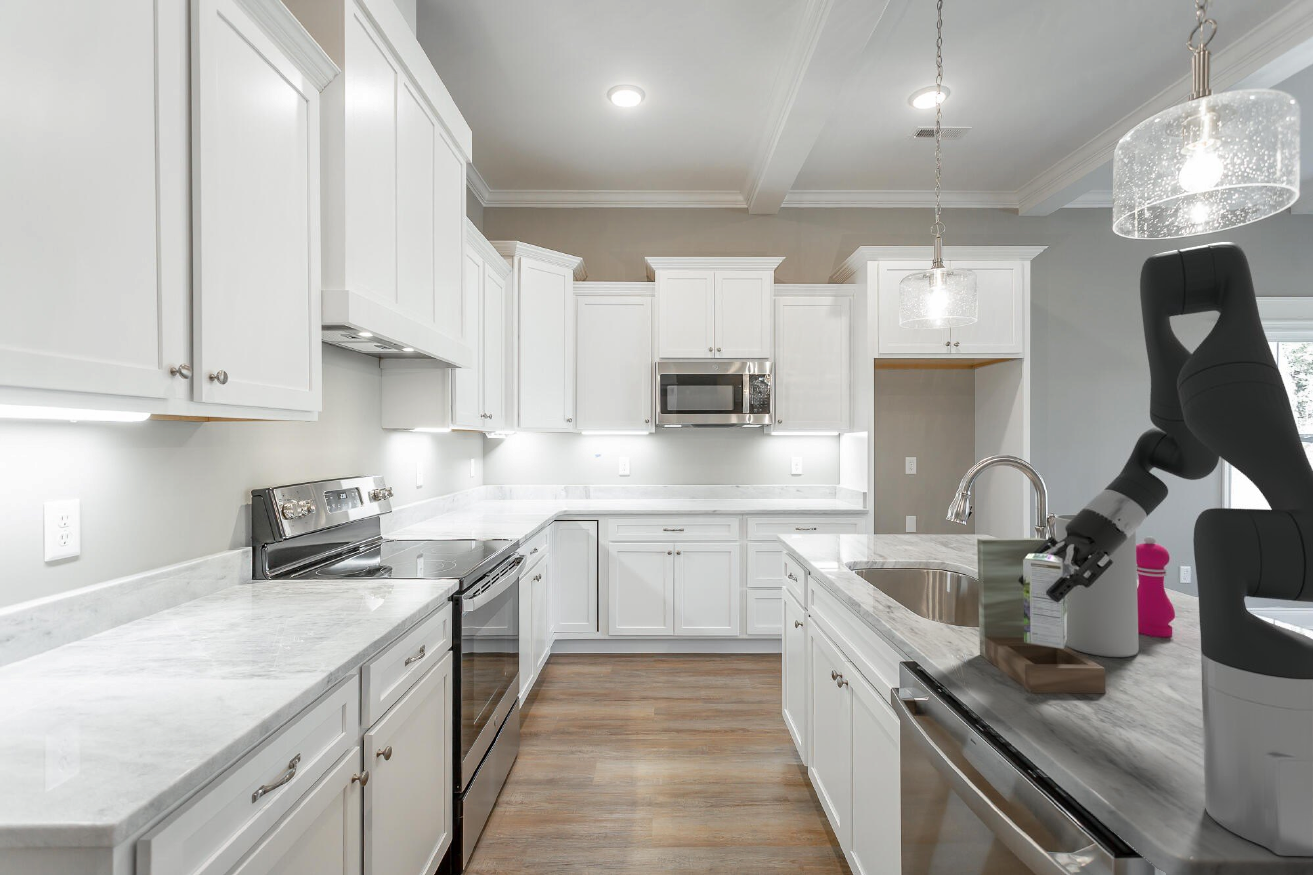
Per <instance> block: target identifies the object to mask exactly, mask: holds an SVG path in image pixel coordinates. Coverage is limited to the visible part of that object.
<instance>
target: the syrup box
mask: <svg viewBox="0 0 1313 875" xmlns="http://www.w3.org/2000/svg"><path fill="white" fill-rule="evenodd" d="M1064 562H1065V561H1063V559H1062V558H1060V557H1058V556H1055V555H1048V554H1028V555H1027V556H1026V557H1025V559H1024V560H1023V599H1024V642H1025V643H1030V644H1036V645H1041V646H1048V647H1055V648H1061V649H1064V648H1065V644H1066V641H1067V595H1065V597H1064V598H1063V599H1061V600H1060V601H1059V602H1055V601H1053V600H1052V599H1051V598H1050V597H1048V596H1047V595H1046V591H1047V590H1048V589H1049V588H1050V587H1051V586H1052V585H1053V584H1054V583H1055V582H1056V581H1057V580H1058V579H1059V578H1060V577H1062V578H1064V577H1063V575H1064V571H1065V566H1064Z"/></svg>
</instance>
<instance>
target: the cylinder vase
mask: <svg viewBox="0 0 1313 875" xmlns="http://www.w3.org/2000/svg"><path fill="white" fill-rule="evenodd" d="M1077 514H1078V513H1077ZM1077 514H1072V513H1071V514H1058V515H1057V514H1056V515H1055V516H1054V526H1055V527H1054V533H1055V534H1054V539H1056V540H1057V541H1061V540H1063V539H1064V538H1066V537H1067V532H1066V530H1065V527H1066V525H1067V524H1068V523H1069V522H1070V521H1071V520H1072V519H1073V518H1074V517H1075V516H1076V515H1077ZM1136 531H1137V530H1136ZM1136 531H1135V532H1134V533H1133V534H1132V535H1131V536H1130V537H1129V538H1128V539H1127V540H1126V541H1125V542H1124V543H1123V544H1122V545H1121V546H1120V547H1119V548H1118V549H1117V550H1116V551H1115V552H1114V553H1113V554H1112V555H1111V556H1109V558H1110V559H1111V560H1112V561H1113V563H1112V565H1111V566H1110V567H1109V568H1108V569H1107V570H1106V571H1105V572H1104V573H1103V574H1102V575H1101V576H1100V577H1099V578H1098V579H1097V580H1096V581H1095V582H1094V583H1093V584H1092V585H1091V586H1090V587H1088V588H1085V587H1084V586H1083V585H1081V586H1079V587H1077V588H1076V587H1074V588H1073V589H1072V590H1071V591H1070V592H1069V593H1068V594H1067V641H1066V644H1065V646H1066V647H1068V648H1070V649H1071V650H1073V651H1076V652H1080V653H1084V654H1089V655H1092V656H1099V657H1106V658H1127V657H1132V656H1135V655H1136V654H1138V652H1139V649H1140V647H1139V646H1140V645H1139V633H1138V604H1137V588H1138V578H1137V577H1138V573H1137V563H1136V546H1137V538H1136V537H1137V535H1136V534H1137V532H1136ZM1090 575H1091V572H1090V571H1089V570H1088V573H1087V577H1086V578H1088V577H1089V576H1090Z"/></svg>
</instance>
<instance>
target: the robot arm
mask: <svg viewBox="0 0 1313 875" xmlns="http://www.w3.org/2000/svg"><path fill="white" fill-rule="evenodd" d="M1254 287H1255V286H1254V282H1253V277H1252V273H1251V269H1250V265H1249V262H1248V259H1247V256H1246V253H1245V251H1244V250H1243V249H1242V247H1241V246H1240V245H1238V244H1237V243H1235V242H1232V241H1231V242H1230V241H1227V242H1226V241H1225V242H1224V241H1223V242H1214V243H1209V244H1205V245H1204V244H1203V245H1198V246H1191V247H1187V248H1182V249H1176V250H1169V251H1165V252H1160V253H1156V254H1153V255H1151V256H1149V257H1148V258H1146V260H1145V261H1144V263H1143V265H1142V267H1141V271H1140V279H1139V291H1140V293H1139V294H1140V295H1139V297H1140V306H1141V307H1140V308H1141V316H1142V324H1143V325H1142V326H1143V334H1144V338H1145V339H1144V340H1145V341H1144V342H1145V347H1146V348H1145V349H1146V354H1147V360H1148V365H1149V366H1148V367H1149V375H1150V397H1149V400H1150V401H1149V402H1150V403H1149V418H1150V422H1151V423H1152V424H1153V425H1154V427H1152V428H1149V429H1148V430H1147V431H1144V432H1143V433H1142V434H1141V435H1140V436H1139V438H1138V440H1137V441H1136V443H1135V445H1134V447H1133V449H1132V452H1131V454H1130V456H1129V458H1128V460H1127V461H1126V463H1125V465H1124V466H1123V468H1122V470H1121V472H1120V473H1119V474H1118V475H1117V476H1116V477H1115V478H1114V479H1113V481H1111V482H1110V483H1109V484H1108V485H1107V487H1105V488H1104V490H1102V491H1101V492H1100V493H1098V494H1097V495H1096V496H1095V497H1093V498H1092V499H1091V500H1090V501H1089V502H1088V503H1087V504H1086V505H1085V506H1084V507H1083V508H1081V510H1080V511H1079V512H1078V513H1077V515H1076V516H1075V517H1074V518H1073V519H1072V520H1071V521H1070V522H1069V523H1068V524H1067V525H1066V527H1065V530H1066V532H1067V537H1066V538H1064V539H1063V540H1061V541H1057V540H1056V539H1055V537H1053V536H1049V537H1048V538H1047V539H1045V540H1046V541H1045V542H1044V543H1043V544H1042V545H1041V546H1040V547H1039V548H1038V549H1037V550H1036V551H1035V552H1034V553H1033V554H1048V555H1055V556H1058V557H1060V558H1062V559H1063V561H1065V562H1064V566H1065V571H1064V575H1063V577H1064V578H1062V577H1060V578H1059V579H1058V580H1057V581H1056V582H1055V583H1054V584H1053V585H1052V586H1051V587H1050V588H1049V589H1048V590H1047V591H1046V595H1047V596H1048V597H1050V598H1051V599H1052V600H1053V601H1055V602H1059V601H1060V600H1061V599H1063V598H1064V597H1065V595H1067V594H1068V593H1069V592H1070V591H1071V590H1072V589H1073V588H1074V587H1076V588H1077V587H1079V586H1081V585H1083V586H1084V587H1085V588H1088V587H1090V586H1091V585H1092V584H1093V583H1094V582H1095V581H1096V580H1097V579H1098V578H1099V577H1100V576H1101V575H1102V574H1103V573H1104V572H1105V571H1106V570H1107V569H1108V568H1109V567H1110V566H1111V565H1112V563H1113V561H1112V560H1111V559H1110V558H1109V556H1111V555H1112V554H1113V553H1114V552H1115V551H1116V550H1117V549H1118V548H1119V547H1120V546H1121V545H1122V544H1123V543H1124V542H1125V541H1126V540H1127V539H1128V538H1129V537H1130V536H1131V535H1132V534H1133V533H1134V532H1135V531H1137V530H1138V529H1139V527H1140V526H1142V524H1143V522H1144V521H1145V520H1146V518H1147V517H1149V516H1150V514H1151V513H1152V512H1154V511H1155V509H1156V508H1157V507H1159V506H1160V505H1161V504H1162V502H1164V500H1165V499H1166V498H1167V497H1168V495H1169V488H1168V485H1166V484H1165V482H1163V481H1162V479H1160V478H1159V477H1157V476H1156V475H1155V474H1153V473H1151V470H1152V469H1154V468H1156V469H1157V470H1160V471H1163V472H1165V473H1168V474H1171V475H1174V476H1176V477H1179V478H1182V479H1184V480H1188V481H1189V480H1190V481H1196V480H1201V479H1203V478H1206V477H1208V476H1209V475H1210V474H1212V473H1213V472H1214V470H1215V469H1216V468H1217V466H1218V464H1219V461H1220V458H1221V459H1222V460H1224V461H1225V462H1226V463H1228V464H1230V465H1231V466H1232V467H1233V468H1235V469H1236V470H1237V471H1239V472H1240V473H1241V474H1243V475H1244V476H1245V477H1246V478H1248V479H1249V480H1250V482H1252V484H1253V485H1254V486H1255V487H1256V488H1257V489H1258V490H1259V491H1260V493H1261V494H1262V497H1264V499H1265V501H1266V502H1267V504H1268V505H1269V507H1270V509H1262V508H1261V509H1260V508H1257V509H1256V508H1228V507H1227V508H1226V507H1225V508H1223V507H1218V508H1217V507H1214V508H1208V509H1204V510H1202V512H1201V513H1200V514H1199V515H1198V516H1197V519H1196V520H1195V524H1194V528H1193V540H1192V541H1193V553H1194V554H1193V555H1194V564H1195V565H1194V566H1195V574H1196V584H1197V593H1198V594H1197V595H1198V596H1197V597H1198V611H1199V612H1198V613H1199V628H1200V630H1199V631H1200V662H1201V663H1200V664H1201V700H1202V701H1201V703H1202V704H1201V705H1202V709H1201V710H1202V741H1203V742H1202V745H1203V747H1202V748H1203V749H1202V750H1203V772H1204V773H1203V774H1204V775H1203V777H1204V778H1203V780H1204V806H1205V807H1204V808H1205V811H1206V812H1207V813H1208V815H1209V816H1210V817H1211V819H1213V820H1214V821H1215V822H1216V823H1218V825H1220V826H1222V827H1223V828H1224V829H1226V830H1228V831H1229V832H1232V833H1233V834H1235V835H1237V836H1239V837H1242V838H1243V839H1246V840H1248V841H1250V842H1253V843H1256V845H1260V846H1262V847H1265V848H1267V850H1270V851H1271V852H1273V853H1274V854H1276V855H1278V856H1289V857H1291V856H1293V857H1295V856H1296V857H1313V638H1311V637H1310V636H1307V635H1305V634H1302V633H1301V632H1298V631H1294V630H1293V629H1289V628H1285V627H1283V626H1281V625H1277V624H1274V623H1272V622H1270V621H1267V620H1264V619H1262V618H1260V617H1259V616H1256V615H1255V614H1254V613H1251V612H1250V611H1249V610H1248V609H1247V606H1246V603H1245V598H1246V597H1249V598H1256V599H1257V598H1259V599H1269V600H1282V601H1292V602H1303V603H1304V602H1305V603H1306V602H1307V603H1313V467H1312V465H1311V463H1310V461H1309V459H1308V457H1307V454H1306V451H1305V448H1304V445H1303V442H1302V440H1301V437H1300V433H1299V430H1298V426H1297V423H1296V420H1295V416H1294V414H1293V413H1294V412H1293V409H1292V406H1291V405H1292V404H1291V402H1290V398H1289V395H1288V391H1287V390H1286V389H1287V388H1286V386H1285V383H1284V380H1283V377H1282V374H1281V372H1280V370H1279V367H1278V364H1277V362H1276V360H1275V357H1274V355H1273V353H1272V349H1271V347H1270V344H1269V341H1268V339H1267V336H1266V333H1265V330H1264V327H1263V324H1262V320H1261V317H1260V312H1259V308H1258V303H1257V302H1258V301H1257V297H1256V293H1255V289H1254ZM1214 311H1215V312H1218V313H1219V316H1218V319H1217V320H1216V322H1215V324H1214V326H1213V327H1212V329H1211V331H1210V332H1209V333H1208V334H1207V336H1206V337H1205V338H1204V339H1203V341H1202V342H1201V343H1200V344H1199V345H1198V346H1197V347H1196V348H1195V350H1194V351H1192V353H1191V352H1190V351H1189V349H1187V348H1186V347H1185V346H1184V345H1183V343H1181V341H1180V340H1179V338H1178V337H1177V336H1176V334H1175V333H1174V331H1173V329H1172V325H1171V319H1170V317H1176V316H1177V317H1178V316H1185V315H1190V314H1199V313H1206V312H1214ZM1088 570H1089V571H1090V572H1091V575H1090V576H1089V577H1088V578H1086V577H1087V573H1088ZM1018 581H1019V583H1020V584H1021V585H1022V586H1023V575H1022V576H1021V577H1020V578H1019V580H1018Z"/></svg>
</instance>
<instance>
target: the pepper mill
mask: <svg viewBox="0 0 1313 875" xmlns="http://www.w3.org/2000/svg"><path fill="white" fill-rule="evenodd" d="M1169 562H1170V554H1169V551H1168V550H1167V549H1166V548H1165V547H1163V546H1162V545H1160V544H1156V538H1155V537H1154V536H1151V535H1147V536H1146V537H1144V543H1139V544H1138V545H1137V544H1136V565H1137V577H1138V578H1137V579H1138V584H1137V604H1138V634H1140V635H1146V636H1150V637H1155V638H1169V637H1170V638H1171V637H1172V636H1173V626H1172V625H1170V623H1171V622H1172V621H1173V620H1174V619H1175V617H1176V612H1175V607H1174V606H1173V603H1172V602H1171V600H1170V598H1169V597H1168V594H1167V593H1166V589H1165V583H1164V582H1165V577H1166V576H1167V574H1168V573H1167V568H1165V567H1166V566H1167V565H1168V564H1169Z"/></svg>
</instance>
